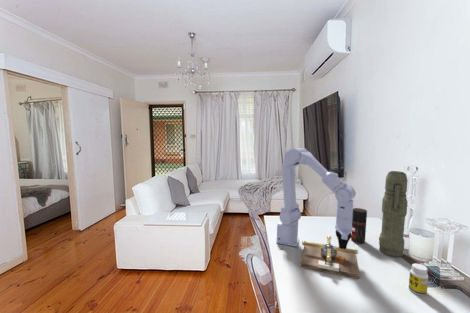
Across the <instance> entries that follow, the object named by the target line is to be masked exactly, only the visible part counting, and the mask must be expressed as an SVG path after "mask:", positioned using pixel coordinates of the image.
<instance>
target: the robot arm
mask: <svg viewBox="0 0 470 313" xmlns="http://www.w3.org/2000/svg"><path fill="white" fill-rule="evenodd" d="M299 165H305V166H309V168H311V170H313V171H314V172H315V173H316V174H318V176H320V177H321V182H322V183H323V184H324V185H325V186H326V187H327V188H328V189H329V190H330V191H331V192H332V193H334V196H335V199H336V202H337V204H336V215H335V216H336V217H335V220H336V221H335V227H334V228H335V236H336V238H337V241H338V247H342V248H347V247H348V243H349V241H350V240H351V232H352V231H355V228H352V215H353V209H354V206H353V205H354V198H355V197H356V190H355V189H354V187H353V186H352V185H350V184H349V185H348V183H347V182H344V181H343V180H342V179H341V178H340V177H339V174H338V173H336V172H333V171H329V170H327V169H326V168H325V167H324V166H323V164H321V163H320V162H319V161H318V160H317V158H316V157H315V156H314V155H313V154H312V153H311V152H310V151H308V149H307V148H305V147H300V148H299V147H297V148H294V147H293V148H290V149H288V151H286V152H285V153H284V159H283V161H282V164H281V172H282V188H283V190H282V191H283V204H282V206H281V208H280V213H279V220H280V221H277V225H276V244H279V245H281V244H282V245H287V246H291V247H298V246H299V242H300V238H299V236H298V235H299V220H300V219H301V217H302V212H301V210H300V207H299V206H300V205H299V204H298V203H297V197H296V196H297V195H296V177H295V175H296V174H295V169H296V168H297V167H298V166H299Z"/></svg>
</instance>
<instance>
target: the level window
mask: <svg viewBox="0 0 470 313" xmlns="http://www.w3.org/2000/svg"><path fill="white" fill-rule="evenodd" d="M318 267H319V268H324V269H328V270H333V271H338V272H339V264H336V263H332V266H331V263H330V262H327V263H326V265H325V261H320V260H319V262H318Z"/></svg>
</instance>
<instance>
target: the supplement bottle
mask: <svg viewBox="0 0 470 313" xmlns="http://www.w3.org/2000/svg"><path fill="white" fill-rule="evenodd" d="M428 272H429V271H428V267H426V266H425V265H423V264H420V263H412V264H411V269H410V270H409V276H408V277H409V279H408V290H409V291H410V292H411V293H412V294H414V295H418V296H422V297H423V296H426V295H427V294H428V285H429V275H428Z"/></svg>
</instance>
